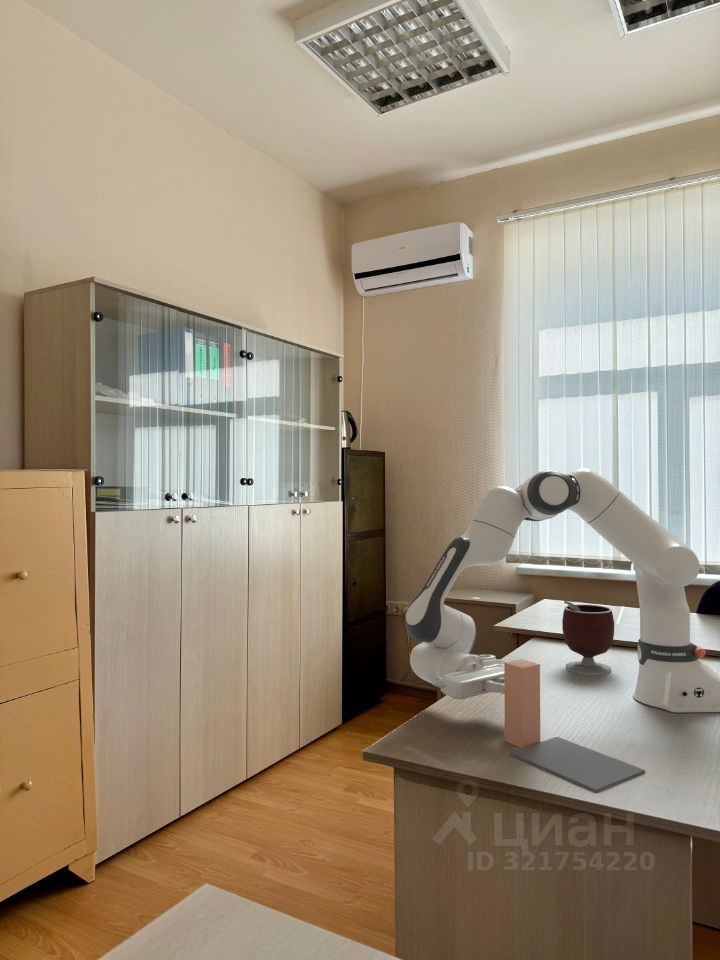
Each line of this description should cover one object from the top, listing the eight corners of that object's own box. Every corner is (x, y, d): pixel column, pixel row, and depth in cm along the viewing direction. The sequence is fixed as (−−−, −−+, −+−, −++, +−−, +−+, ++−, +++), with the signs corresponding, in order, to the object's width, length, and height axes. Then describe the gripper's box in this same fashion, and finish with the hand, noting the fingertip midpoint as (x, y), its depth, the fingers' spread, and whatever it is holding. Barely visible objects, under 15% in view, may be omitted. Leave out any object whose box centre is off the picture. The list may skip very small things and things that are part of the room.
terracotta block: (504, 740, 141) (504, 662, 141) (521, 735, 144) (521, 659, 144) (523, 748, 137) (522, 668, 137) (540, 743, 140) (539, 664, 140)
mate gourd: (588, 660, 204) (587, 592, 204) (625, 671, 191) (625, 599, 191) (547, 667, 197) (547, 596, 197) (584, 679, 184) (583, 604, 184)
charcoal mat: (509, 754, 134) (509, 752, 134) (557, 739, 142) (557, 736, 142) (596, 792, 118) (596, 789, 118) (645, 772, 126) (645, 769, 126)
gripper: (428, 667, 149) (473, 682, 138) (496, 653, 161) (542, 666, 149) (428, 696, 149) (473, 714, 138) (496, 680, 161) (542, 695, 149)
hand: (509, 689), depth 144 cm, fingers closed
